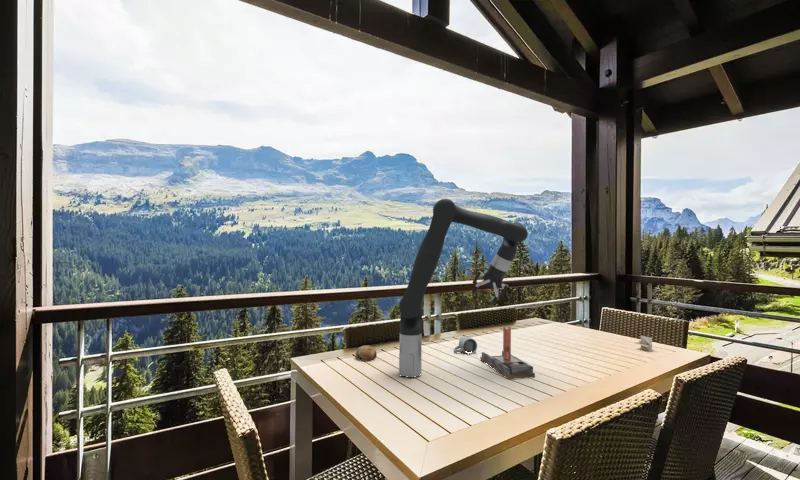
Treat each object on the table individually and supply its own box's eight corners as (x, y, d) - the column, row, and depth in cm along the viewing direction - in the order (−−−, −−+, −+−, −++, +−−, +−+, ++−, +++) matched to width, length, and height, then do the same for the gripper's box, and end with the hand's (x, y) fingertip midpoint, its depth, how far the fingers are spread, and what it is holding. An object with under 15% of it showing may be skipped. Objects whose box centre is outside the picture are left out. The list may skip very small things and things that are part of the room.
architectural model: (648, 353, 195) (648, 338, 195) (634, 350, 202) (634, 335, 202) (652, 352, 197) (652, 337, 197) (638, 349, 203) (638, 334, 203)
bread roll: (353, 366, 185) (349, 352, 182) (364, 352, 193) (360, 339, 190) (371, 369, 180) (367, 355, 177) (381, 354, 188) (378, 341, 185)
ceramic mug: (471, 349, 201) (471, 334, 201) (477, 353, 193) (477, 338, 193) (451, 350, 199) (451, 335, 199) (457, 355, 191) (457, 339, 191)
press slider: (520, 367, 167) (520, 329, 167) (502, 368, 165) (502, 330, 165) (511, 361, 175) (511, 325, 175) (493, 363, 173) (493, 326, 173)
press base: (534, 377, 160) (534, 364, 160) (508, 379, 157) (508, 366, 157) (503, 358, 185) (503, 347, 185) (480, 360, 182) (480, 349, 182)
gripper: (515, 272, 168) (499, 304, 172) (485, 257, 171) (469, 288, 176) (514, 276, 161) (496, 309, 165) (482, 260, 164) (466, 293, 169)
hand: (482, 298), depth 171 cm, fingers open, 8 cm apart
